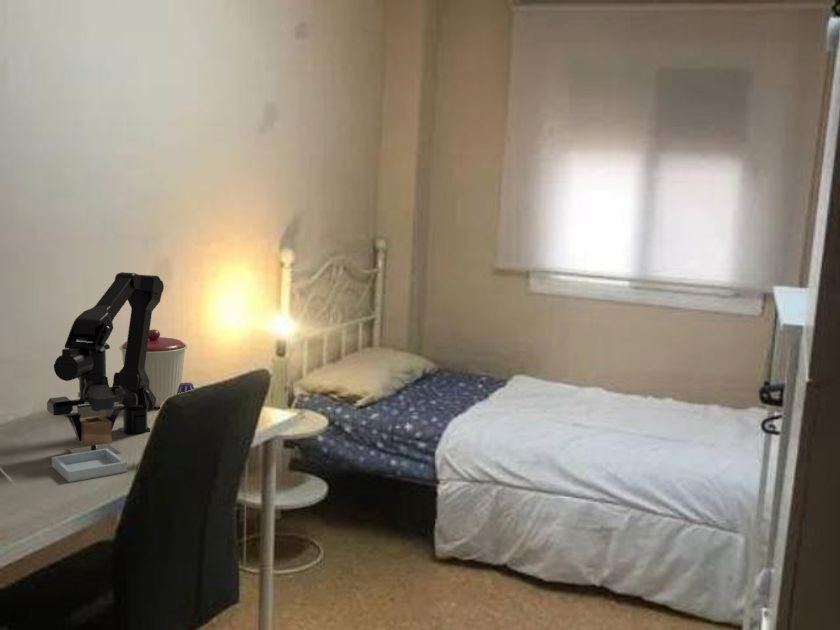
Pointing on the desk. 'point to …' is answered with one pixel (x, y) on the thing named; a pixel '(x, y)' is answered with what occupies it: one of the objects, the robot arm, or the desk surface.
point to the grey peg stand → (94, 448)
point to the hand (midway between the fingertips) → (94, 438)
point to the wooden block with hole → (95, 431)
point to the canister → (162, 364)
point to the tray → (89, 464)
